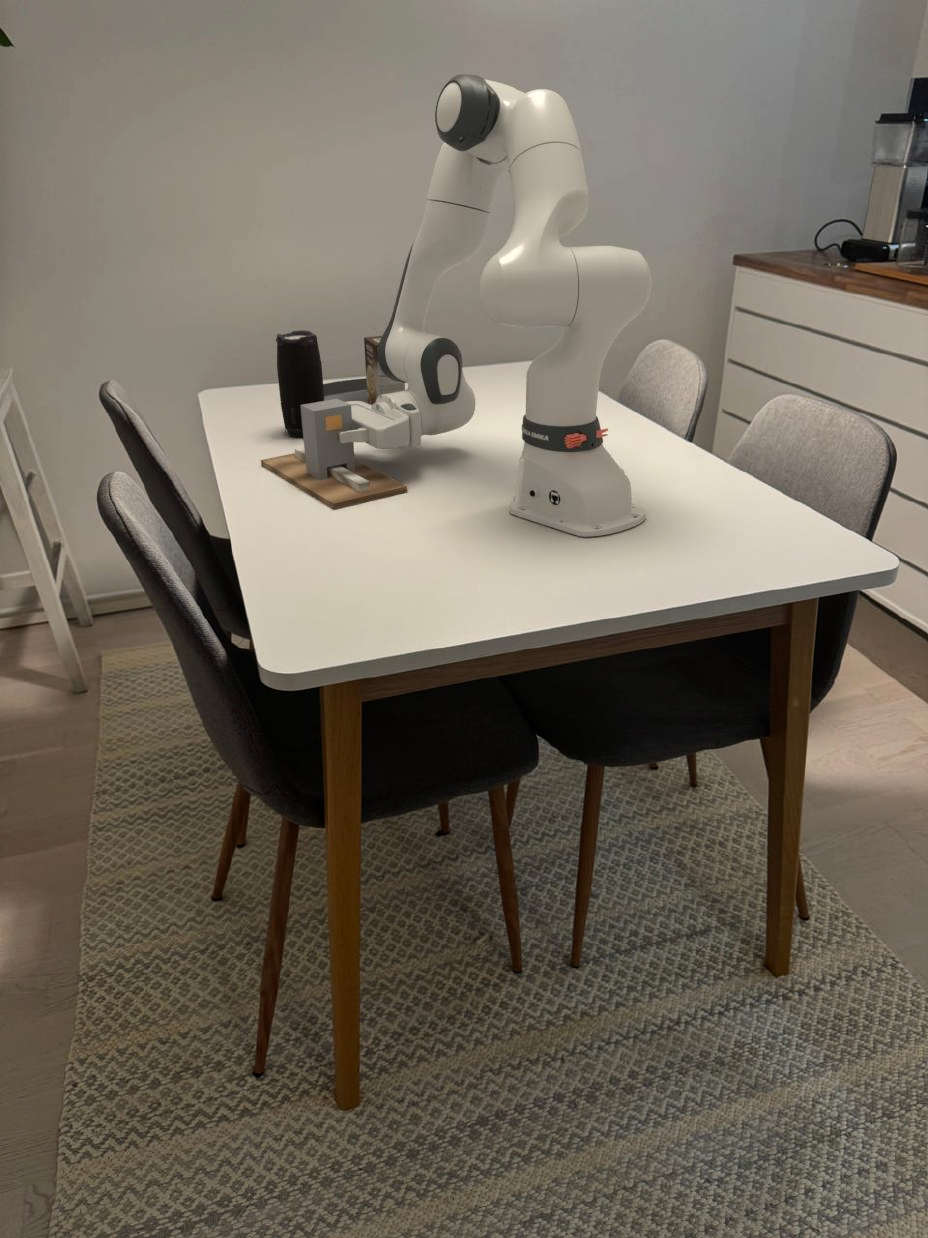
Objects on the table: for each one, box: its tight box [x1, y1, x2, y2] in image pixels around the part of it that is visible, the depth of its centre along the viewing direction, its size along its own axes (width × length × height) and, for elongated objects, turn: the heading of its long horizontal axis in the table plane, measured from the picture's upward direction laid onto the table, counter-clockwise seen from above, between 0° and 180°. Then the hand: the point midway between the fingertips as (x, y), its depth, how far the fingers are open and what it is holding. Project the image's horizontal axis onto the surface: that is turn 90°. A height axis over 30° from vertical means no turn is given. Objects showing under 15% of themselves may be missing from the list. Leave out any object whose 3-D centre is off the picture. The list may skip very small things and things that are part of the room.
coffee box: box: [363, 335, 406, 405], centre depth 194 cm, size 9×6×16 cm
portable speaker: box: [275, 329, 324, 439], centre depth 182 cm, size 9×9×20 cm
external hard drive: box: [323, 377, 368, 404], centre depth 208 cm, size 13×19×4 cm
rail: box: [260, 446, 408, 510], centre depth 162 cm, size 28×14×2 cm, turn 35°
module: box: [300, 399, 356, 480], centre depth 159 cm, size 5×7×12 cm
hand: (325, 431), depth 158 cm, fingers open, 8 cm apart
